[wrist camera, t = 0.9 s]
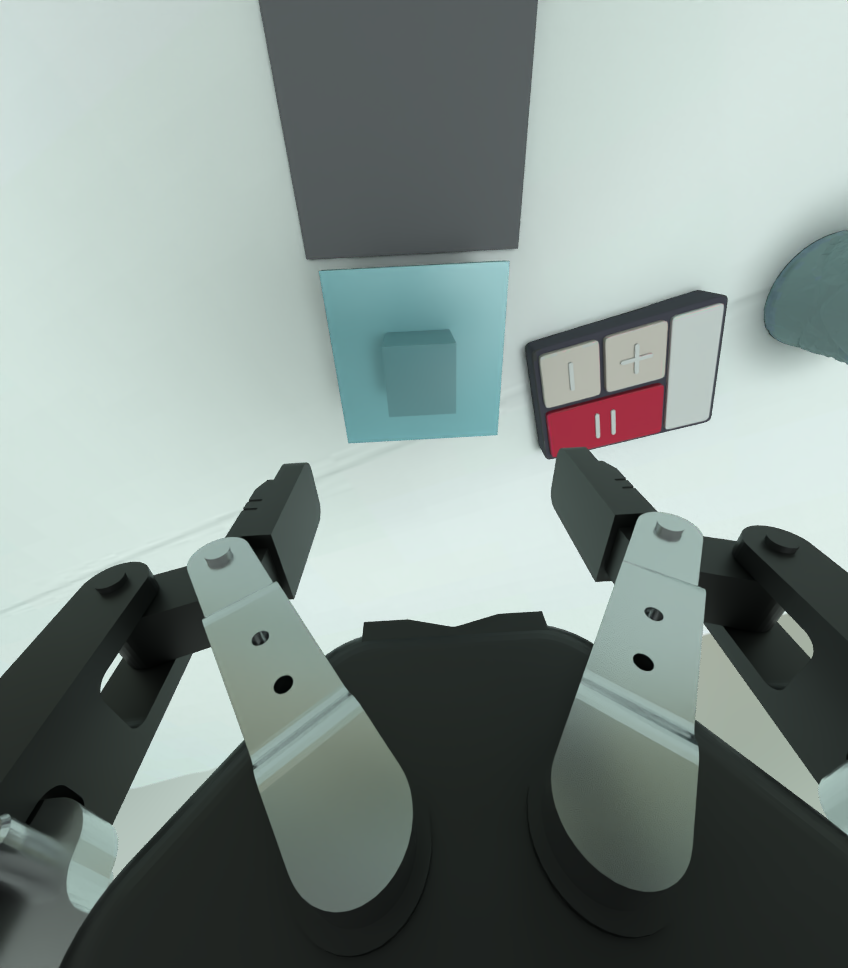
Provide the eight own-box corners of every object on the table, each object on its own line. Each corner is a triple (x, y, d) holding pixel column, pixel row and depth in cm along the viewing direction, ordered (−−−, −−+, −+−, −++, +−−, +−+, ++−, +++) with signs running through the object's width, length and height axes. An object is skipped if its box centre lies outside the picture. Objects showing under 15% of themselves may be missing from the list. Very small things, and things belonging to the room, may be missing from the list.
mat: (246, -87, 20) (239, -102, 19) (541, -101, 20) (547, -116, 19) (309, 259, 29) (306, 259, 28) (514, 248, 29) (517, 248, 28)
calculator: (533, 353, 30) (736, 294, 27) (522, 341, 33) (701, 288, 31) (547, 465, 36) (716, 425, 33) (537, 444, 39) (689, 406, 37)
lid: (327, 268, 23) (301, 275, 18) (499, 259, 23) (528, 263, 18) (353, 428, 29) (339, 470, 24) (490, 420, 29) (509, 461, 24)
